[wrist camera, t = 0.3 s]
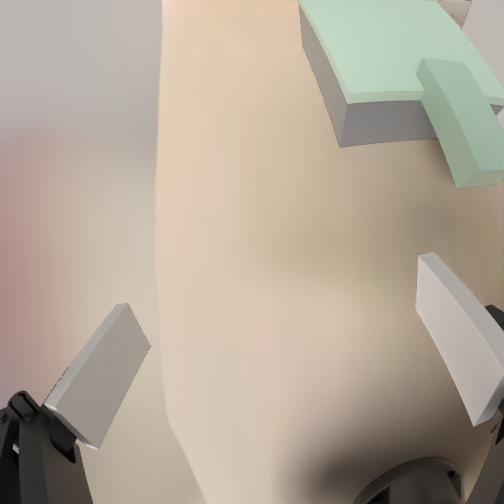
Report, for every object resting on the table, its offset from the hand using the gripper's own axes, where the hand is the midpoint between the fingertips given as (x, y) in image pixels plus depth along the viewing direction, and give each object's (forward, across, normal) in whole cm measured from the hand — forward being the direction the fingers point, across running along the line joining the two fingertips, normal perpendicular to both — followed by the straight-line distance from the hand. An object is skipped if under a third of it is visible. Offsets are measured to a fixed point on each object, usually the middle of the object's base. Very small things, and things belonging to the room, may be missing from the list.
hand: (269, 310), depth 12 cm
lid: (+19, -18, -11) cm, 29 cm away
